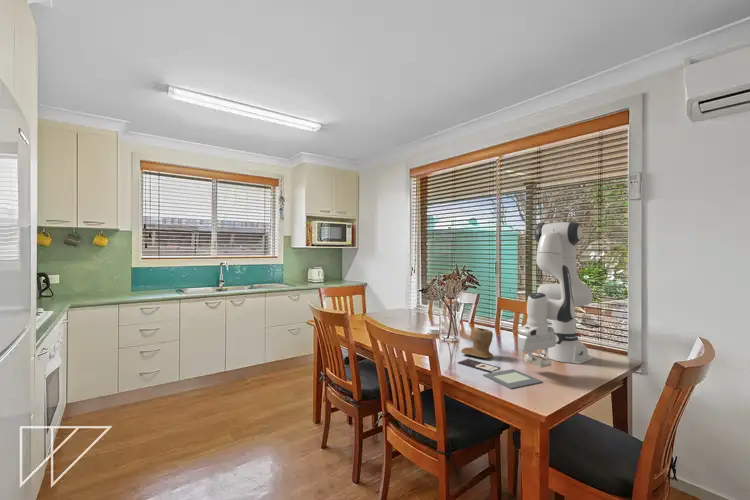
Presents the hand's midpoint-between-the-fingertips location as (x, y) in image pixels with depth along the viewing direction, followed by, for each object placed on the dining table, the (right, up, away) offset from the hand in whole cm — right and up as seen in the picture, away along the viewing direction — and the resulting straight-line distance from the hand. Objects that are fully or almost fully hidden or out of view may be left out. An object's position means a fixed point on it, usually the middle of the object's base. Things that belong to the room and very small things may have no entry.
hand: (537, 358), depth 166 cm
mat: (-14, -7, -7) cm, 17 cm away
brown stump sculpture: (-19, -7, +27) cm, 34 cm away
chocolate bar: (-24, -8, +11) cm, 27 cm away
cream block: (0, -2, 0) cm, 2 cm away
